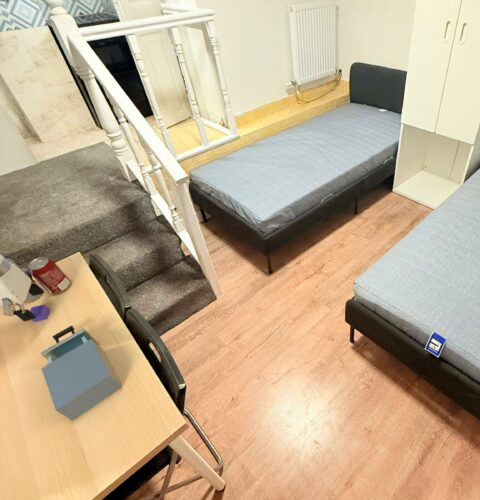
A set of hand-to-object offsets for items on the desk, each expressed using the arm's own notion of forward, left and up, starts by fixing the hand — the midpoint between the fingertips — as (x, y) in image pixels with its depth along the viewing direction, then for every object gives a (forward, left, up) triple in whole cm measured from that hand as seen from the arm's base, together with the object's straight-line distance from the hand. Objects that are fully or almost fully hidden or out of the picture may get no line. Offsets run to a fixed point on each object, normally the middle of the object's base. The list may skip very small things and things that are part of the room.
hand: (34, 306), depth 101 cm
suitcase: (+19, -30, -5) cm, 36 cm away
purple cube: (0, 0, -5) cm, 5 cm away
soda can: (+3, +11, -5) cm, 12 cm away
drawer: (+14, -21, -4) cm, 26 cm away
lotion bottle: (-5, +10, -5) cm, 12 cm away
